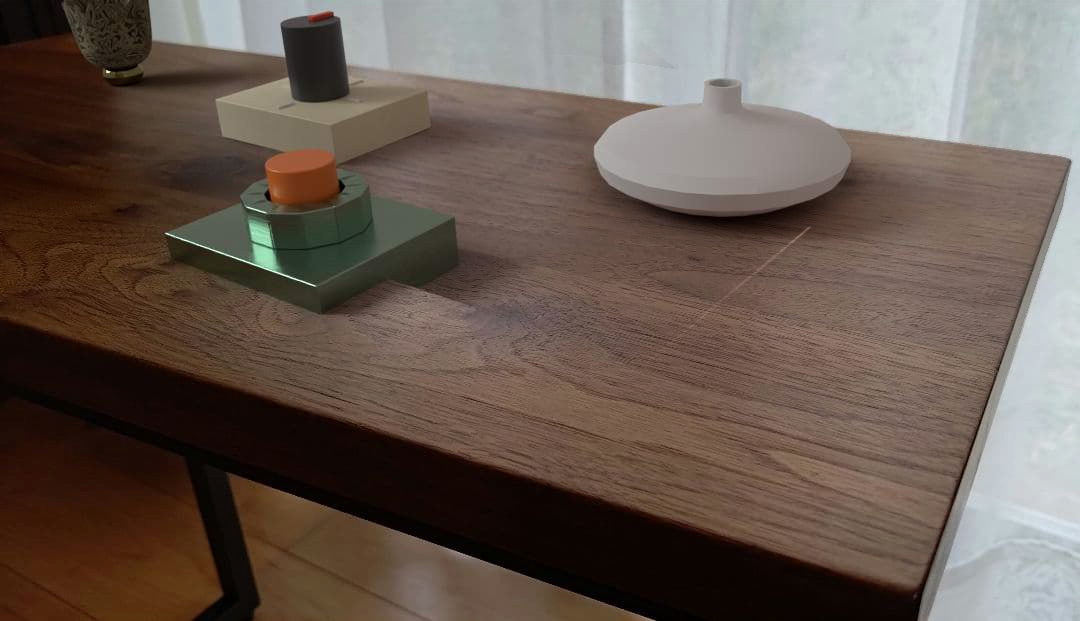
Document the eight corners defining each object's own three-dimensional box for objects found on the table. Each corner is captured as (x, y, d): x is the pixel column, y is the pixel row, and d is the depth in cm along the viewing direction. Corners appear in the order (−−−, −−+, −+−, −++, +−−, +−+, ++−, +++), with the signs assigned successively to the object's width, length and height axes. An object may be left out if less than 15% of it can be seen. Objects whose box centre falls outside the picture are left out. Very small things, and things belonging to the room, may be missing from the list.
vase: (772, 267, 53) (781, 141, 50) (543, 206, 62) (538, 95, 59) (887, 179, 64) (901, 70, 61) (678, 138, 73) (680, 41, 70)
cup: (92, 75, 97) (70, -10, 93) (170, 68, 98) (152, -16, 94) (75, 95, 90) (52, 5, 87) (160, 88, 92) (140, -1, 88)
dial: (319, 105, 74) (307, 25, 71) (279, 97, 76) (266, 20, 73) (361, 90, 77) (352, 13, 74) (322, 83, 79) (311, 8, 76)
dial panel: (222, 136, 78) (214, 97, 76) (318, 104, 85) (312, 67, 83) (336, 165, 71) (330, 122, 69) (431, 127, 78) (427, 87, 76)
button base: (176, 282, 55) (155, 197, 52) (313, 221, 62) (301, 144, 59) (325, 341, 48) (309, 247, 46) (459, 266, 55) (452, 181, 53)
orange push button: (257, 201, 53) (250, 164, 52) (308, 180, 55) (303, 144, 54) (302, 214, 51) (296, 176, 50) (354, 192, 53) (349, 155, 52)
